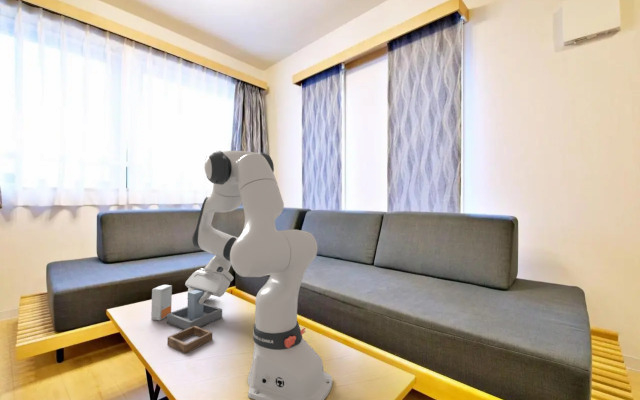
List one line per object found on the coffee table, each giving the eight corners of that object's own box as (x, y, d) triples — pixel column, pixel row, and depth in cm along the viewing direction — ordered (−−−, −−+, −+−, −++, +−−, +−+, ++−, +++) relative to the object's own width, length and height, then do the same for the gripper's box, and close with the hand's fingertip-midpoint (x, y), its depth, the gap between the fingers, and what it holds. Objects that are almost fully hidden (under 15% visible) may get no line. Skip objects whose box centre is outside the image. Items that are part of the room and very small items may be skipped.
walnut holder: (212, 339, 91) (212, 332, 91) (185, 353, 82) (185, 345, 82) (194, 332, 95) (194, 325, 95) (167, 344, 87) (167, 337, 87)
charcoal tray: (222, 317, 107) (222, 309, 107) (190, 332, 95) (190, 322, 95) (199, 310, 114) (199, 302, 114) (166, 323, 102) (167, 313, 102)
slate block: (203, 316, 106) (203, 291, 106) (193, 320, 102) (194, 294, 102) (196, 314, 108) (197, 289, 108) (187, 318, 104) (187, 292, 104)
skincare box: (160, 320, 104) (160, 289, 104) (150, 319, 105) (151, 288, 105) (171, 314, 110) (172, 285, 110) (162, 313, 111) (163, 284, 111)
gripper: (195, 263, 116) (172, 292, 107) (228, 270, 106) (206, 303, 97) (203, 271, 120) (183, 300, 111) (236, 278, 110) (216, 311, 101)
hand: (194, 301), depth 104 cm, fingers open, 4 cm apart
